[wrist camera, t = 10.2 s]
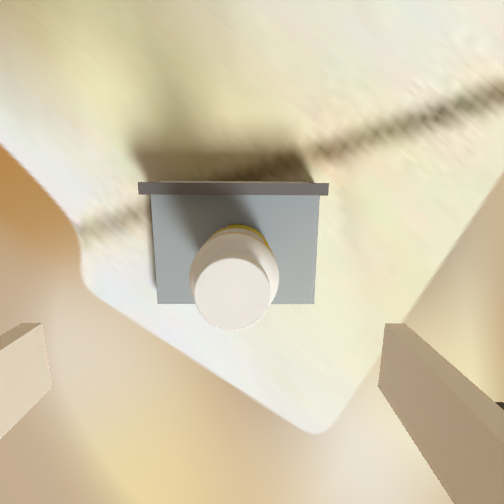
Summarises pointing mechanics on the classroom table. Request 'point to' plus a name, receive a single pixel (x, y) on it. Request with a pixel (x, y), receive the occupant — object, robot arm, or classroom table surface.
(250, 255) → the pill bottle
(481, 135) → the classroom table surface
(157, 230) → the grey piece
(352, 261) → the classroom table surface
